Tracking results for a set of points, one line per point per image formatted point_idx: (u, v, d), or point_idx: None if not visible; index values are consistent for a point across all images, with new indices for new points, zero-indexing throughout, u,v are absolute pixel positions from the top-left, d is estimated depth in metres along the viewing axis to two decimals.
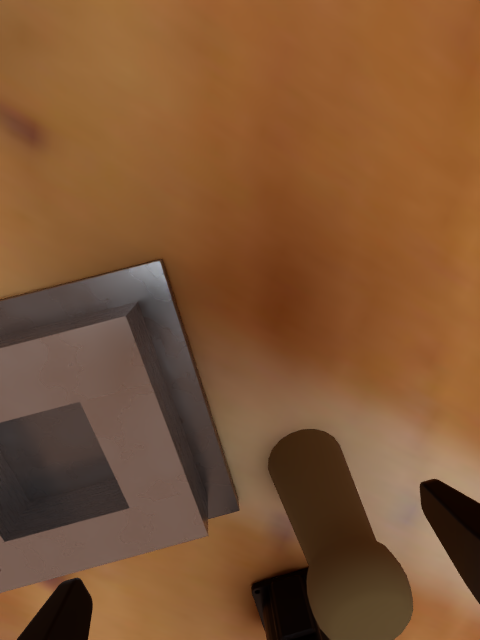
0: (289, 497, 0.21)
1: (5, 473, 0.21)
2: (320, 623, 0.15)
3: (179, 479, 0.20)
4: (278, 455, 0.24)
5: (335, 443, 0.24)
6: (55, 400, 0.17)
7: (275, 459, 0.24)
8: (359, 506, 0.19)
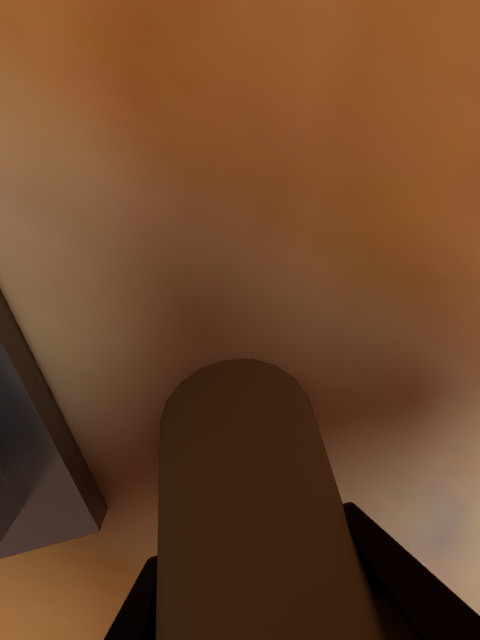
0: (161, 505, 0.08)
1: None
2: None
3: None
4: (170, 412, 0.11)
5: (296, 388, 0.11)
6: None
7: (165, 421, 0.11)
8: (338, 532, 0.07)
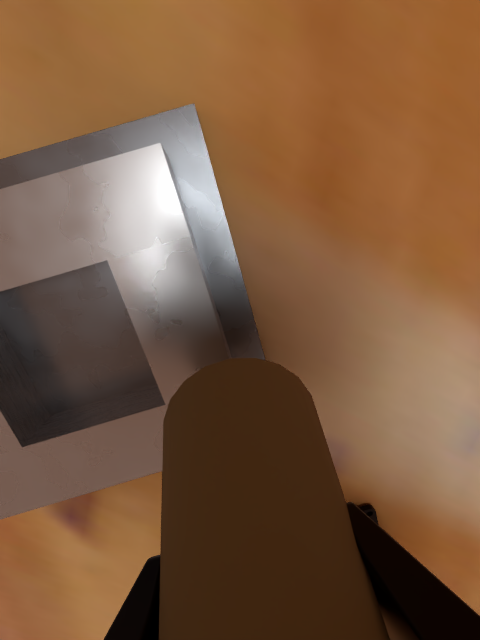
0: (164, 502, 0.08)
1: (21, 376, 0.18)
2: None
3: None
4: (173, 410, 0.11)
5: (299, 386, 0.11)
6: (78, 258, 0.14)
7: (168, 419, 0.11)
8: (342, 530, 0.07)
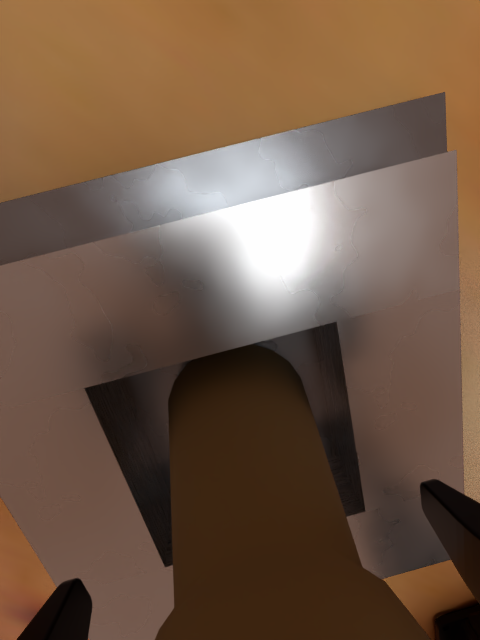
0: (173, 461, 0.10)
1: (150, 457, 0.13)
2: None
3: (452, 464, 0.12)
4: (178, 389, 0.12)
5: (290, 369, 0.13)
6: (297, 318, 0.10)
7: (173, 397, 0.12)
8: (322, 476, 0.08)
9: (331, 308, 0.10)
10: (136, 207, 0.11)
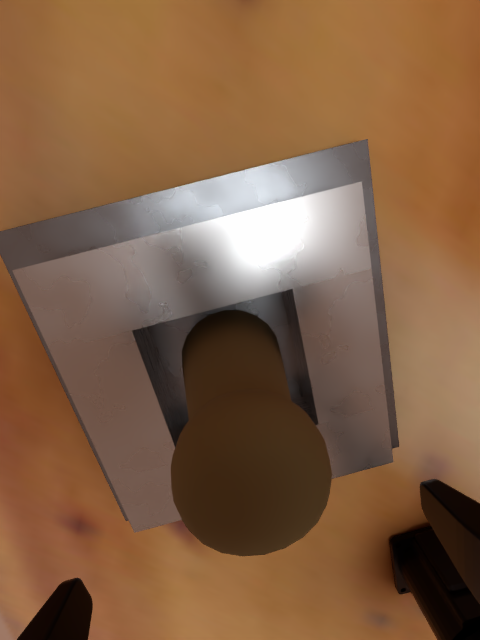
0: (187, 376, 0.15)
1: (168, 391, 0.19)
2: (177, 507, 0.09)
3: (377, 390, 0.17)
4: (189, 339, 0.18)
5: (267, 327, 0.18)
6: (267, 286, 0.15)
7: (186, 345, 0.18)
8: (277, 375, 0.13)
9: (288, 280, 0.15)
10: (162, 215, 0.17)
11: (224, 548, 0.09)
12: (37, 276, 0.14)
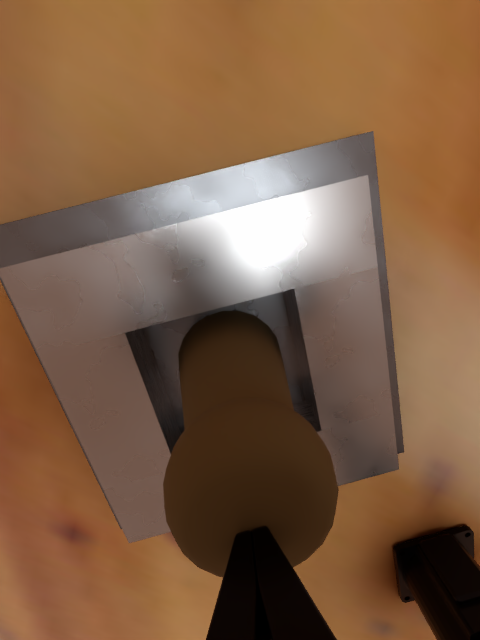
0: (184, 381, 0.14)
1: (164, 395, 0.18)
2: (170, 528, 0.09)
3: (383, 395, 0.17)
4: (186, 341, 0.17)
5: (267, 329, 0.17)
6: (267, 285, 0.14)
7: (182, 348, 0.17)
8: (278, 380, 0.13)
9: (290, 279, 0.14)
10: (157, 211, 0.16)
11: (220, 573, 0.09)
12: (24, 275, 0.13)
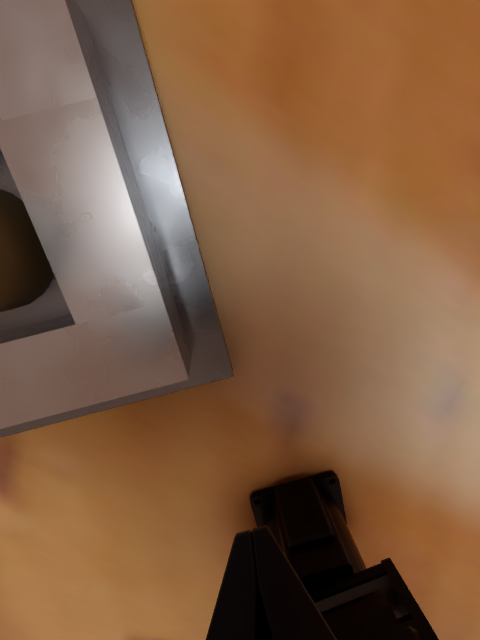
0: None
1: None
2: None
3: (145, 279, 0.14)
4: None
5: (19, 205, 0.14)
6: None
7: None
8: None
9: None
10: None
11: None
12: None
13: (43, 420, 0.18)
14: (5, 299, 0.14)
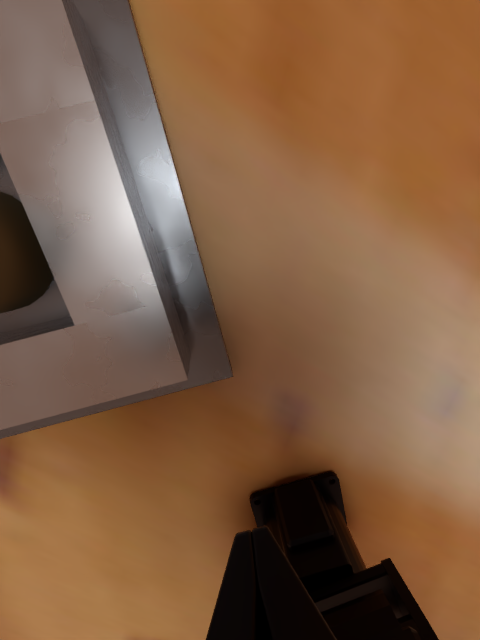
0: None
1: None
2: None
3: (144, 280, 0.14)
4: None
5: (18, 207, 0.15)
6: None
7: None
8: None
9: None
10: None
11: None
12: None
13: (43, 421, 0.19)
14: (4, 300, 0.14)
